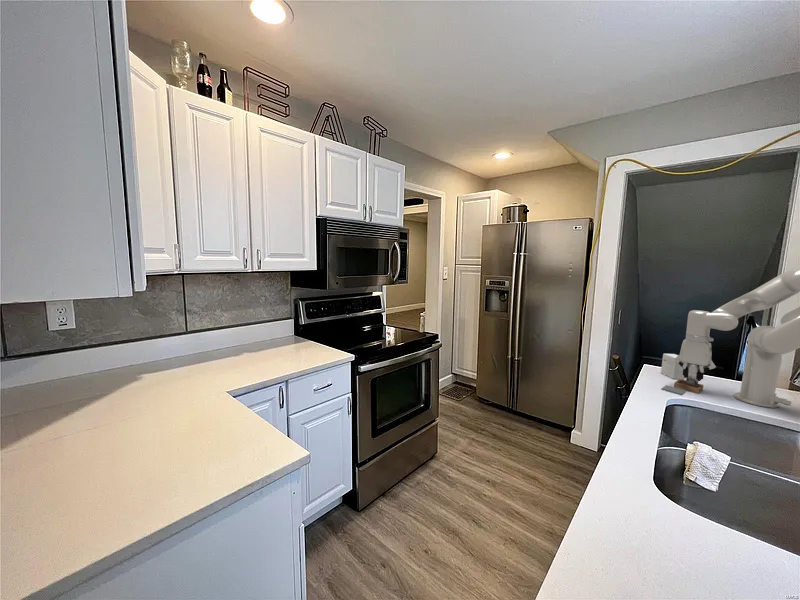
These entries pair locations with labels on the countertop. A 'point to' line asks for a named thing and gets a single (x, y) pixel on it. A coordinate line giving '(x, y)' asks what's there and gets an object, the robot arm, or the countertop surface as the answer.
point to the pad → (673, 390)
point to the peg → (692, 374)
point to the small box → (671, 367)
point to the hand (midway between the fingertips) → (692, 378)
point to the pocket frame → (688, 386)
